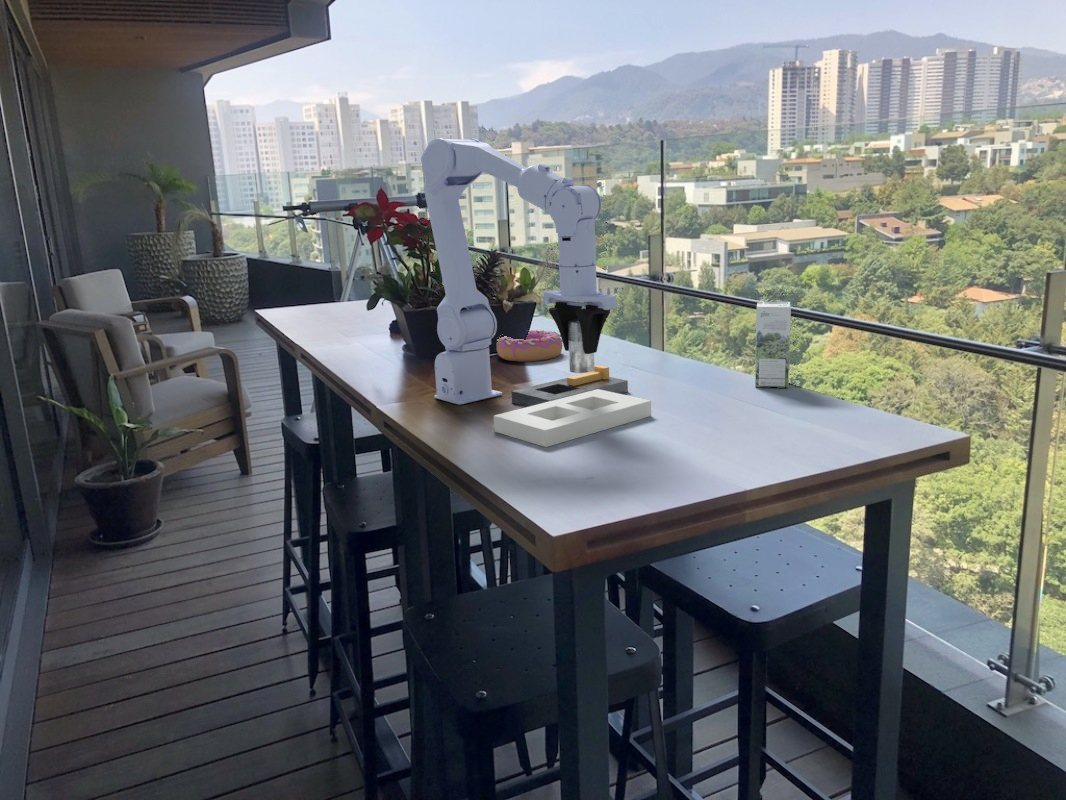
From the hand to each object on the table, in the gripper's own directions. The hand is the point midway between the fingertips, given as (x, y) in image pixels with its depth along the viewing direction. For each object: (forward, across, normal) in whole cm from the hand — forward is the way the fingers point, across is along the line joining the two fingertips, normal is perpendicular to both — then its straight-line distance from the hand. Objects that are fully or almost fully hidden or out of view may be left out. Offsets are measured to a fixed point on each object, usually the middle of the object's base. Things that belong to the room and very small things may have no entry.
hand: (580, 351), depth 138 cm
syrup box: (+10, -12, -35) cm, 38 cm away
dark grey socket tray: (+10, +9, -6) cm, 15 cm away
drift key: (+8, +9, -10) cm, 16 cm away
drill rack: (+10, -4, +5) cm, 12 cm away
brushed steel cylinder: (+3, 0, 0) cm, 3 cm away
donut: (+10, +43, -25) cm, 51 cm away
